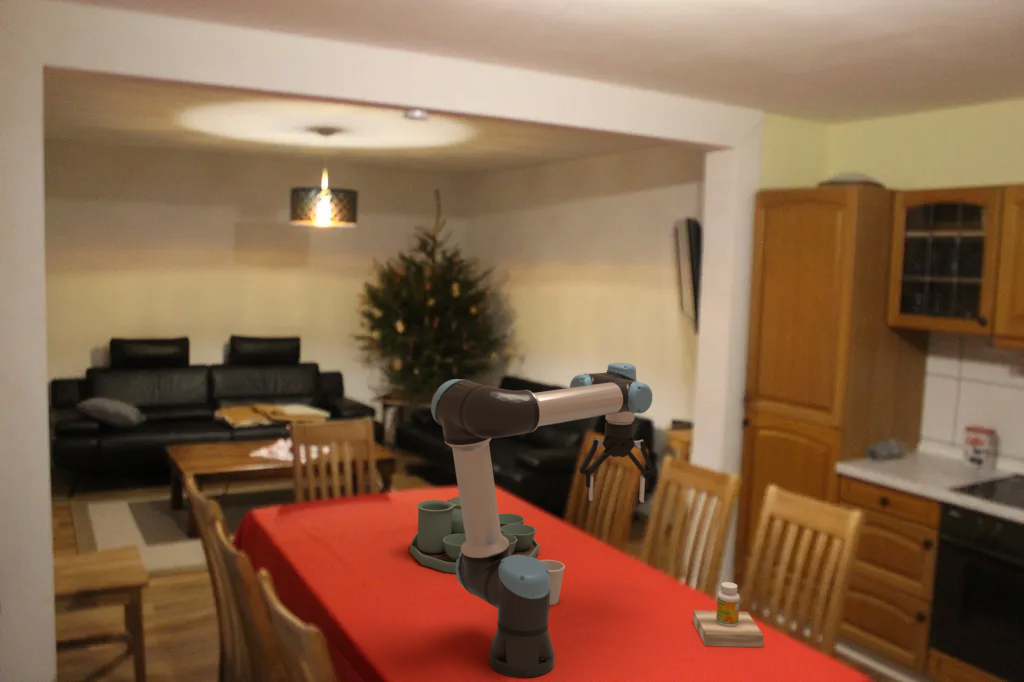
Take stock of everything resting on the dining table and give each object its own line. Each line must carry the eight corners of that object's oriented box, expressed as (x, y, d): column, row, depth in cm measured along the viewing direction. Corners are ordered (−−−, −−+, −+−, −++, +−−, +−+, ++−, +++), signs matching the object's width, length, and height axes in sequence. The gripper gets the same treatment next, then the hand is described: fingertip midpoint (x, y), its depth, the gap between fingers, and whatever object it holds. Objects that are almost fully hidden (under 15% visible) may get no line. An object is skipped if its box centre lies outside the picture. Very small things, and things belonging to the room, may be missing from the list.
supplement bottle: (712, 622, 218) (714, 585, 217) (722, 616, 222) (724, 579, 221) (732, 628, 215) (734, 590, 214) (741, 622, 219) (744, 584, 218)
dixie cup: (537, 608, 231) (539, 571, 230) (528, 595, 239) (530, 560, 238) (567, 605, 233) (569, 569, 232) (557, 593, 241) (559, 558, 240)
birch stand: (762, 647, 212) (763, 635, 212) (705, 645, 212) (706, 633, 211) (746, 622, 226) (747, 611, 225) (692, 621, 226) (693, 610, 225)
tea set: (486, 587, 245) (488, 530, 243) (384, 554, 268) (385, 502, 266) (563, 551, 277) (565, 500, 275) (465, 525, 300) (466, 478, 298)
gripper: (664, 420, 234) (660, 497, 236) (571, 417, 234) (568, 494, 236) (669, 425, 227) (665, 505, 229) (573, 423, 226) (570, 502, 228)
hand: (616, 500), depth 232 cm, fingers open, 13 cm apart
